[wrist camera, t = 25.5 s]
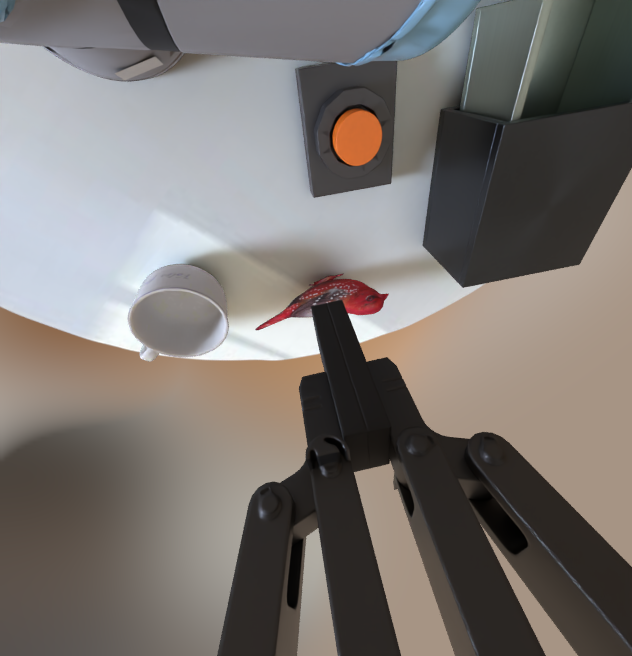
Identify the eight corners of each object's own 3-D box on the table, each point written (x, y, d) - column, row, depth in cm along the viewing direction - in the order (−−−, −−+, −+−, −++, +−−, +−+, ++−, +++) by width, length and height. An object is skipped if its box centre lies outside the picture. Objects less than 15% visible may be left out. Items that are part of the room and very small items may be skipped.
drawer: (492, -170, 21) (605, -279, 14) (669, -193, 21) (857, -308, 15) (442, 161, 34) (488, 184, 28) (550, 141, 35) (620, 160, 28)
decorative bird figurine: (371, 271, 44) (396, 313, 37) (258, 309, 45) (260, 358, 38) (368, 254, 42) (393, 295, 35) (250, 295, 43) (250, 343, 36)
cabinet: (440, 109, 32) (504, 124, 24) (567, 87, 33) (671, 95, 25) (422, 245, 43) (462, 288, 35) (518, 227, 43) (579, 264, 35)
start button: (330, 112, 27) (334, 114, 26) (376, 104, 28) (383, 106, 26) (333, 165, 30) (337, 169, 29) (376, 157, 31) (381, 162, 29)
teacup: (188, 237, 36) (176, 271, 30) (247, 295, 43) (246, 333, 37) (109, 295, 40) (85, 336, 34) (175, 341, 46) (165, 382, 41)
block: (295, 68, 28) (300, 69, 25) (389, 53, 28) (405, 52, 25) (310, 191, 35) (316, 203, 32) (384, 178, 36) (397, 188, 33)
